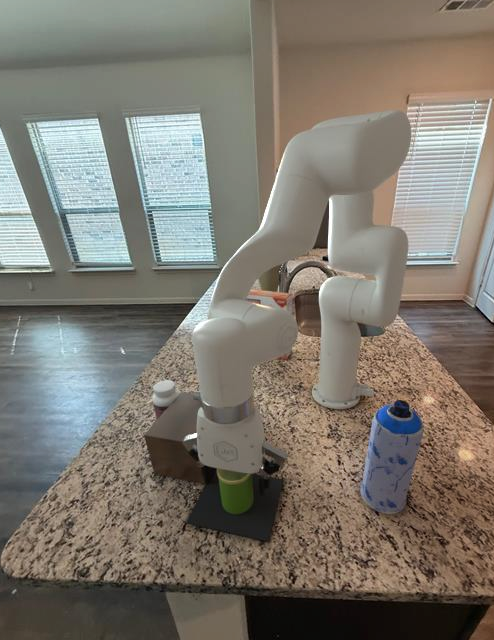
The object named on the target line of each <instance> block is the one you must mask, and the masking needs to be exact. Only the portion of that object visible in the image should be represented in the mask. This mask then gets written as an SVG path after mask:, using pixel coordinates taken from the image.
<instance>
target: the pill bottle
mask: <svg viewBox="0 0 494 640" xmlns="http://www.w3.org/2000/svg"><path fill="white" fill-rule="evenodd" d="M152 388H153V395H152V398H151V399H152V405H153V410H154V415H155V419H156V420H157V419H158V418H159V417H160V416H161V415H162V414H163V412H164V411H165V410H166V409H167V408H168V407H169V406H170V404H171V403H172V402H173V401H174V400H175V399H176V397H177V396H178V395H179V394H180V393H181V392H180V391H179V389H177V387H176V382H175V381H173V380H170V379H165V380H161V381H157V382H156V383H155V384H154V385H153V387H152Z"/></svg>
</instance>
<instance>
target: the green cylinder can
mask: <svg viewBox="0 0 494 640" xmlns="http://www.w3.org/2000/svg"><path fill="white" fill-rule="evenodd" d="M217 475H218V478H219V486H220V493H221V500H222V506H223V508H224V509H225V510H226V511H227V512H229V513H232V514H241V513H244V512H245V511H247V510H248V509H249V508H250V507H251V506H252V504H253V500H254V497H253V482H252V474H248V473H241V472H235V471H230V470H224V469H219V468H217Z"/></svg>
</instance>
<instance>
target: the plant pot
mask: <svg viewBox="0 0 494 640" xmlns="http://www.w3.org/2000/svg"><path fill="white" fill-rule="evenodd" d="M282 264H283V265H284V263H282ZM282 264H280V265H278V266H275V267H273V268H271V269H270V270H268V271H266V272H265V273H264V274H262V275H261V276H260V277H259V278H258V279H257V282H258V285H259V288H260V290H263V291H272V292H278V289H279V286H280V283H279V271H280V268H281V266H282Z"/></svg>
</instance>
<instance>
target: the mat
mask: <svg viewBox="0 0 494 640" xmlns="http://www.w3.org/2000/svg"><path fill="white" fill-rule="evenodd" d="M215 469H216V472H215V474H214V476H213V481H212V483H211V484H209V485H206V484H204V486H203V488H202V490H201V492H200V495H199V496H198V498H197V501H196V502H195V504H194V506H193V508H192V510H191V512H190V514H189V516H188V518H187V520H186V522H185V523H186V524H187V525H190V526H195V527H197V528H204V529H208V530H212V531H216V532H221V533H225V534H229V535H234V536H237V537H238V536H239V537H242V538H247V539H252V540H255V541H259V542H264V543H269V540H270V537H271V532H272V529H273V525H274V520H275V516H276V513H277V509H278V506H279V505H278V503H279V502H280V497H281V493H282V489H283V485H284V479H283V478H279V477H272V476H271V483H270V487H269V489H268V488H266V490H265V493H264V496H262V495H260V494H259V476H260V475H259V474H258V473H257V474H256V473H253V474H252V482H253V497H254V500H253V504H252V506H251V507H250V508H249V509H248V510H247V511H245V512H244V513H241V514H232V513H229V512H227V511H226V510H225V509H224V508H223V506H222V500H221V493H220V486H219V478H218V475H217V468H215Z"/></svg>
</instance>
